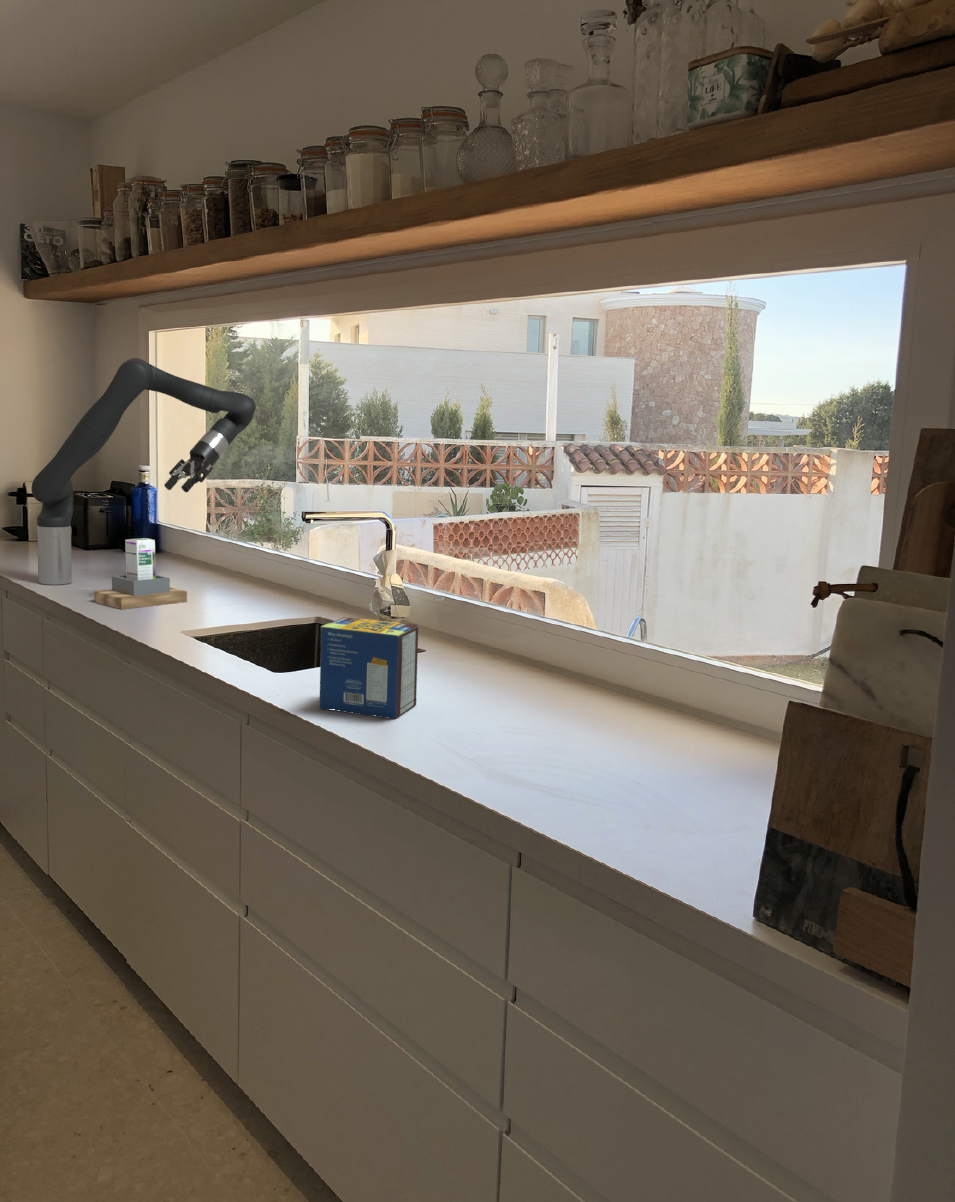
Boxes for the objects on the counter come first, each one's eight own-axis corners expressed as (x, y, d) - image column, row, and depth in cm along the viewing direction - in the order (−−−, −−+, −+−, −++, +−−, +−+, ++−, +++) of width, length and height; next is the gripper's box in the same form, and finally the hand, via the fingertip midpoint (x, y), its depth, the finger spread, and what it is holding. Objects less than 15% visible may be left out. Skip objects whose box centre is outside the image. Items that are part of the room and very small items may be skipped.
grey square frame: (112, 590, 277) (111, 576, 276) (147, 586, 285) (147, 572, 284) (133, 595, 270) (133, 581, 269) (169, 592, 278) (169, 577, 277)
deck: (94, 601, 275) (94, 591, 274) (158, 594, 290) (158, 584, 289) (121, 609, 266) (121, 598, 265) (186, 601, 281) (186, 591, 281)
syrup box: (138, 593, 274) (137, 540, 271) (125, 590, 277) (124, 538, 275) (156, 591, 278) (155, 539, 276) (143, 588, 282) (143, 537, 279)
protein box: (341, 695, 192) (343, 616, 190) (417, 705, 188) (420, 624, 185) (317, 709, 182) (319, 625, 180) (396, 720, 178) (399, 634, 175)
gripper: (187, 438, 294) (152, 478, 288) (216, 440, 285) (181, 481, 279) (202, 457, 299) (169, 496, 293) (231, 459, 290) (197, 500, 284)
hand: (175, 489), depth 286 cm, fingers open, 8 cm apart
